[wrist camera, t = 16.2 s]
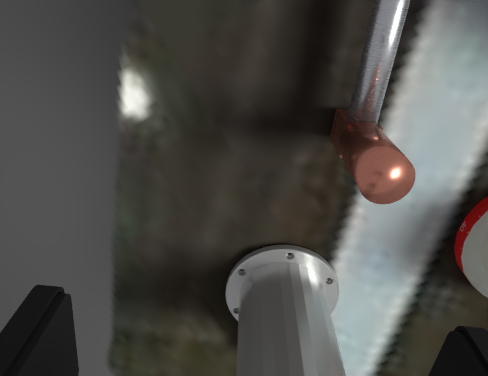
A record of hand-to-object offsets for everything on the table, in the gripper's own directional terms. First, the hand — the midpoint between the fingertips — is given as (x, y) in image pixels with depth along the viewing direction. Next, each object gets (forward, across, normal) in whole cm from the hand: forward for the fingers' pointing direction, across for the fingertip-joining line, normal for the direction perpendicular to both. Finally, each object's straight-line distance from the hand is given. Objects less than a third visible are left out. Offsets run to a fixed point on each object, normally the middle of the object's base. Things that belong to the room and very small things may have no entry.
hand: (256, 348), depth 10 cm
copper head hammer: (+28, -9, -6) cm, 30 cm away
